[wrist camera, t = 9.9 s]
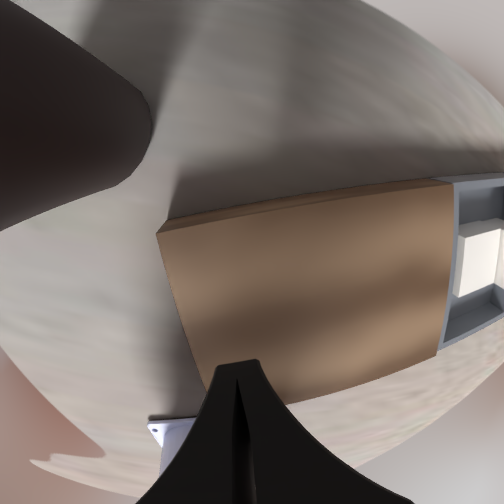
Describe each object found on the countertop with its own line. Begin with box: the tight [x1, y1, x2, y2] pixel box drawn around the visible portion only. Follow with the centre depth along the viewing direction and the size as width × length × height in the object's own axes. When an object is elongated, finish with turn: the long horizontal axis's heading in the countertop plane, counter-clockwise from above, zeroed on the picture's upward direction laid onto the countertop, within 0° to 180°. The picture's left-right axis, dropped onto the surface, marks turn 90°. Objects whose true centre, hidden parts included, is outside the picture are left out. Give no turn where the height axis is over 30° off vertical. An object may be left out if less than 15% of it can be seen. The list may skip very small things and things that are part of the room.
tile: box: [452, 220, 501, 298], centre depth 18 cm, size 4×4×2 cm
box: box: [429, 172, 504, 351], centre depth 18 cm, size 13×10×3 cm
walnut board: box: [156, 178, 454, 405], centre depth 18 cm, size 13×17×3 cm
